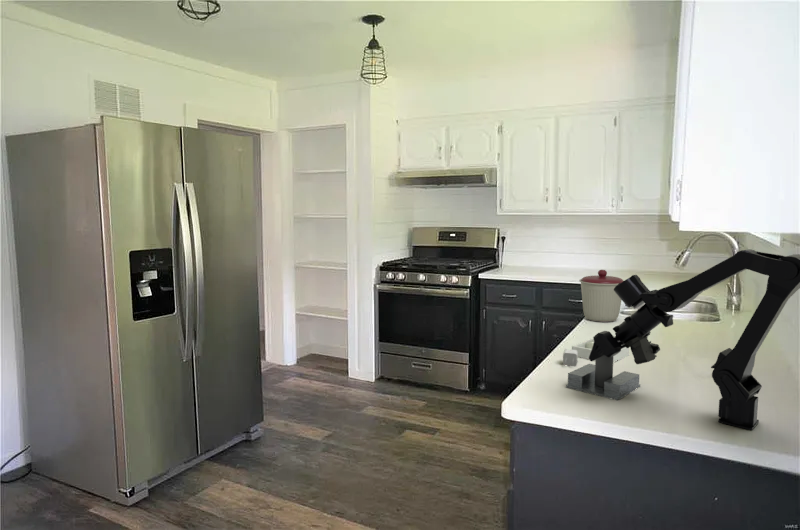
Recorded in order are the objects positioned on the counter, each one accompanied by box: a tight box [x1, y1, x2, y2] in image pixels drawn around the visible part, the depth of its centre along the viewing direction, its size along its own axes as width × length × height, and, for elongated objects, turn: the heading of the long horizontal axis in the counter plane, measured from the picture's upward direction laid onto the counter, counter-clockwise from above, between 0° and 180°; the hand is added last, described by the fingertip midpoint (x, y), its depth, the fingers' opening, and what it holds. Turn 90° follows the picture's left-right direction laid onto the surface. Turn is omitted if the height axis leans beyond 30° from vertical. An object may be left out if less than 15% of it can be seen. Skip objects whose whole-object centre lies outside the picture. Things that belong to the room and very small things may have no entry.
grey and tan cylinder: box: [594, 355, 614, 387], centre depth 143 cm, size 4×4×13 cm
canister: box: [579, 269, 624, 323], centre depth 225 cm, size 18×18×21 cm
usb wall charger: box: [562, 348, 579, 367], centre depth 164 cm, size 4×7×4 cm, turn 159°
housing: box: [565, 363, 641, 401], centre depth 144 cm, size 14×14×4 cm
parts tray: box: [571, 338, 630, 363], centre depth 173 cm, size 13×13×3 cm
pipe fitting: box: [586, 341, 594, 349], centre depth 174 cm, size 8×4×7 cm
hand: (599, 356), depth 144 cm, fingers open, 9 cm apart
